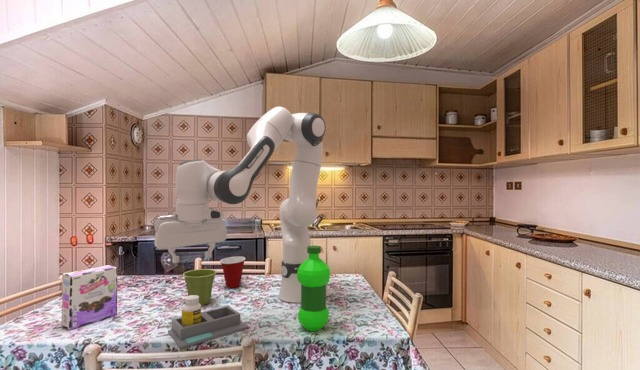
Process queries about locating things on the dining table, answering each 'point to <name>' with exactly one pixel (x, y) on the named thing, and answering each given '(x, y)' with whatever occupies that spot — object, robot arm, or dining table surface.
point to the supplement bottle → (191, 311)
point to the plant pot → (200, 284)
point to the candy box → (89, 296)
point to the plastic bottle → (313, 290)
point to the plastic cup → (233, 271)
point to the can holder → (207, 327)
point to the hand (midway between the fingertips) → (192, 260)
